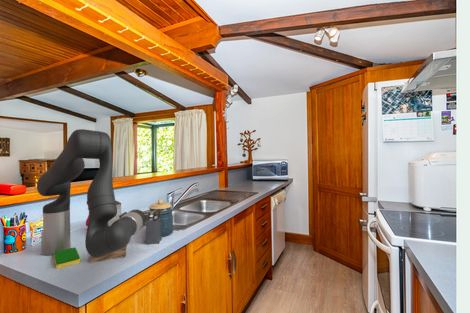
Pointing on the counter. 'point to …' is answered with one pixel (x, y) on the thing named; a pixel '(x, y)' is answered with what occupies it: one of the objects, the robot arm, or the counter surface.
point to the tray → (111, 255)
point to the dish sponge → (66, 257)
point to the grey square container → (154, 231)
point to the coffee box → (116, 215)
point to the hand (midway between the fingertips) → (146, 211)
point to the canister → (164, 216)
